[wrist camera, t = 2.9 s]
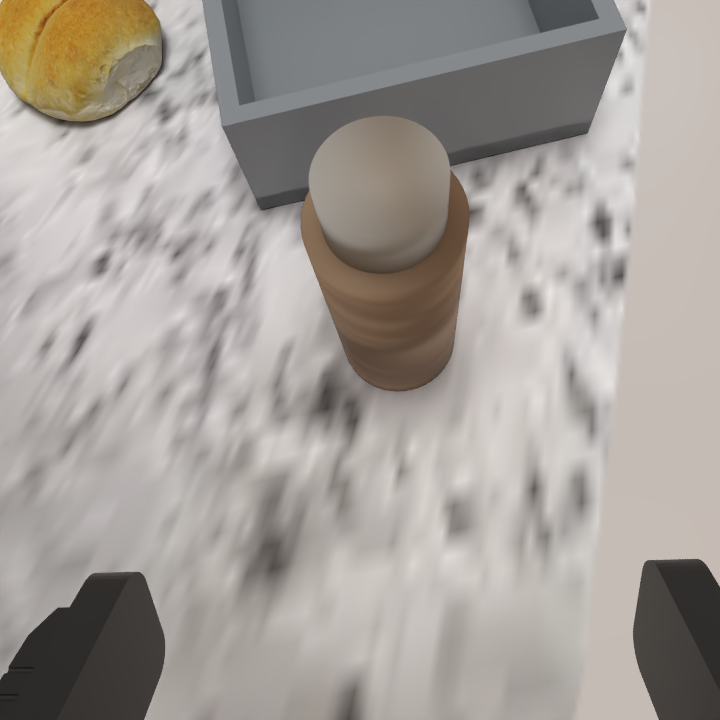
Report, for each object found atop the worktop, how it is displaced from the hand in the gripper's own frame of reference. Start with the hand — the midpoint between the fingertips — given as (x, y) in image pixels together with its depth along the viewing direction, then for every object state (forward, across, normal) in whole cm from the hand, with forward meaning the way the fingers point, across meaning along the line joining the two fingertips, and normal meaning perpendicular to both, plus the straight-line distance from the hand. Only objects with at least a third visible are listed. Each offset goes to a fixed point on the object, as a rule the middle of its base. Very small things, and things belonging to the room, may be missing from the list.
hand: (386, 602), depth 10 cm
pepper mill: (+17, 0, +3) cm, 18 cm away
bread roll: (+30, +16, -9) cm, 35 cm away
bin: (+29, 0, -8) cm, 30 cm away
